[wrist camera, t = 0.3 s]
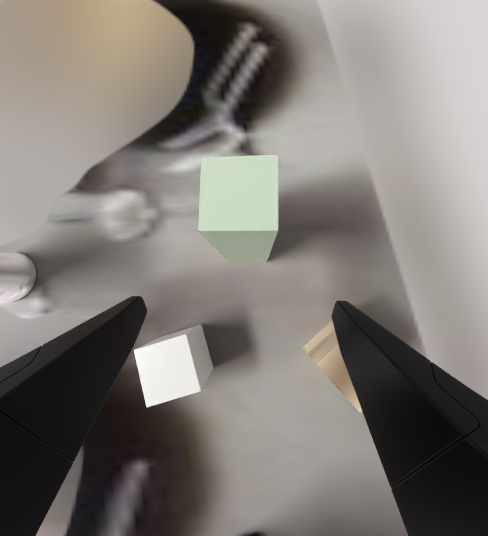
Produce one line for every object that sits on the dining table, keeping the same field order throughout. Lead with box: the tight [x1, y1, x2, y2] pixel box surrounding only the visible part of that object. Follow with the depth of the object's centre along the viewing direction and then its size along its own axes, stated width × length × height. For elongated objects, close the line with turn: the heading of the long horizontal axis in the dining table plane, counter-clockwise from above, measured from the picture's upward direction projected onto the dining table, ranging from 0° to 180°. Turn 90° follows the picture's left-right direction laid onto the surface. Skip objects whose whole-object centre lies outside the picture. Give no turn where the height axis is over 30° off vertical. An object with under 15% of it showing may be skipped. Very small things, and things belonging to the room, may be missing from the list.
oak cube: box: [303, 320, 362, 412], centre depth 19 cm, size 5×5×5 cm
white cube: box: [134, 325, 213, 407], centre depth 20 cm, size 5×5×5 cm
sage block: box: [198, 155, 278, 262], centre depth 17 cm, size 4×4×12 cm
